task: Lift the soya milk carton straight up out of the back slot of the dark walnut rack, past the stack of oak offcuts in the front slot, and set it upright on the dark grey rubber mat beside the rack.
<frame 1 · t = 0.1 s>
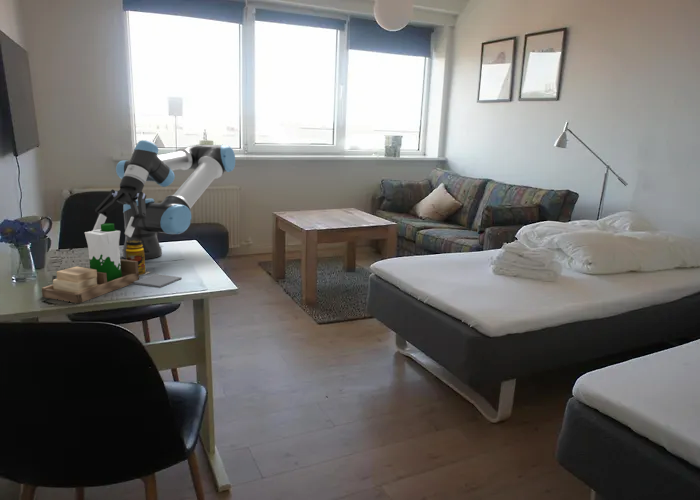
hand: (111, 233, 175), 15 cm above the table, tool tilted 35°, fingers open, 13 cm apart
rack: (93, 288, 166), on the table
condiment: (135, 273, 184), on the table
mat: (157, 281, 175), on the table
soya milk: (107, 284, 171), resting in rack
offcut stack: (77, 294, 160), resting in rack
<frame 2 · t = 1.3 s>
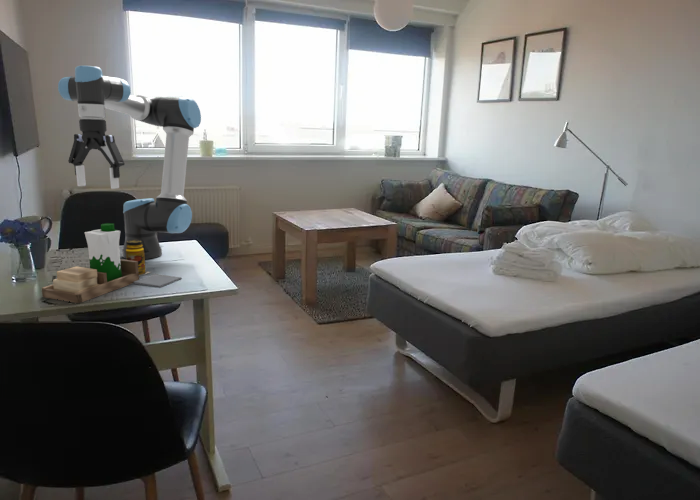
hand: (98, 187, 163), 32 cm above the table, tool pointing down, fingers open, 13 cm apart
nothing on the table moved.
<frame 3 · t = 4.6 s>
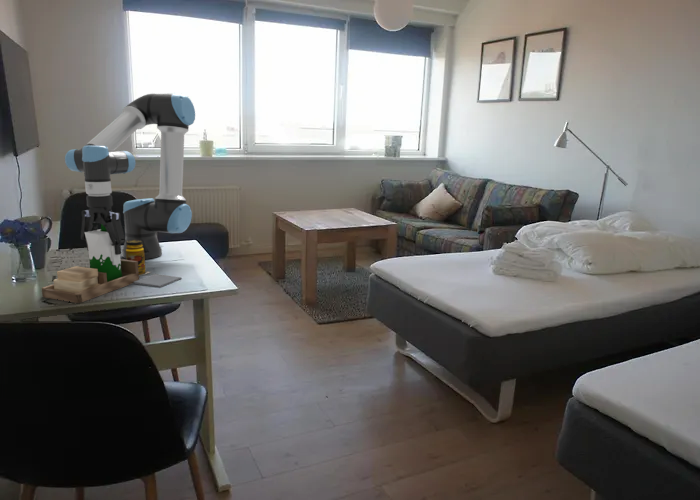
hand: (105, 262, 169), 7 cm above the table, tool pointing down, fingers closed on soya milk, 9 cm apart
soya milk: (107, 284, 171), resting in rack, touching gripper
everything else where it was.
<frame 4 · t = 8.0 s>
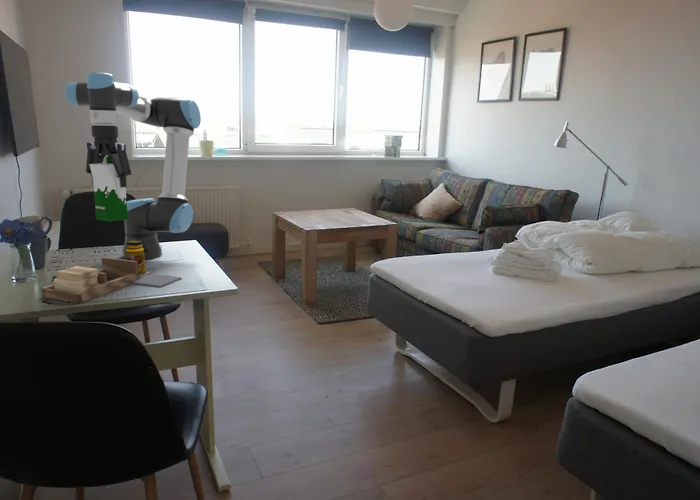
hand: (110, 196, 165), 29 cm above the table, tool pointing down, fingers closed on soya milk, 9 cm apart
soya milk: (112, 219, 167), point 22 cm above the table, touching gripper
everything else where it was.
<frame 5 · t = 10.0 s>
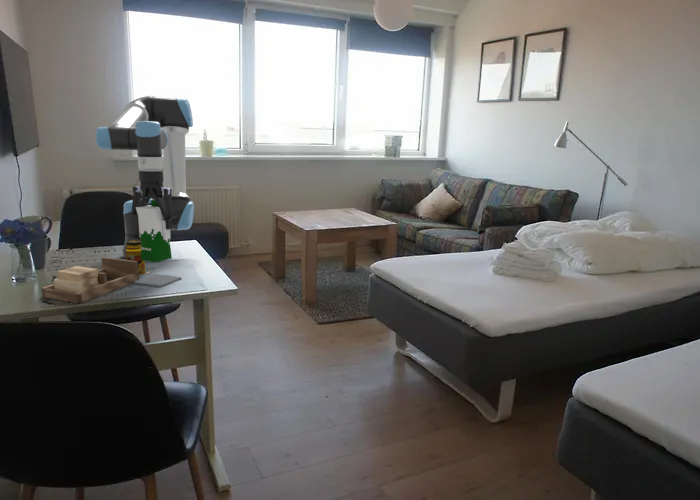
hand: (155, 237, 172), 15 cm above the table, tool pointing down, fingers closed on soya milk, 9 cm apart
soya milk: (156, 259, 173), point 8 cm above the table, touching gripper
everything else where it was.
when the fingers open (9 cm above the table, at t = 11.8 s): soya milk stays where it is, resting on mat.
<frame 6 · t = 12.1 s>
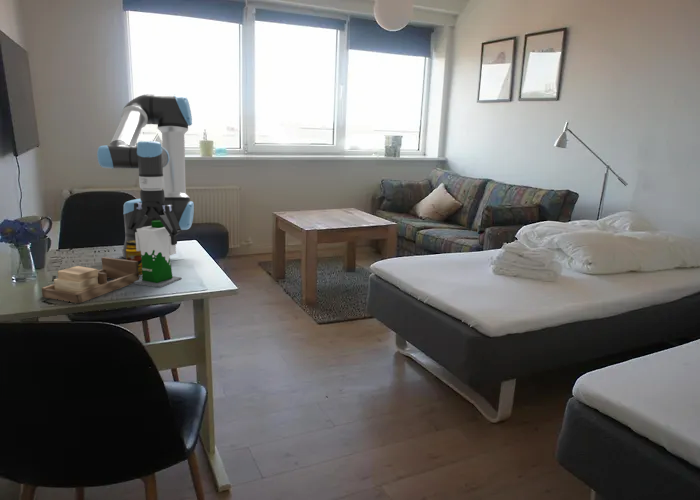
hand: (156, 252, 173), 10 cm above the table, tool pointing down, fingers open, 13 cm apart
soya milk: (157, 279, 175), resting on mat
everything else where it was.
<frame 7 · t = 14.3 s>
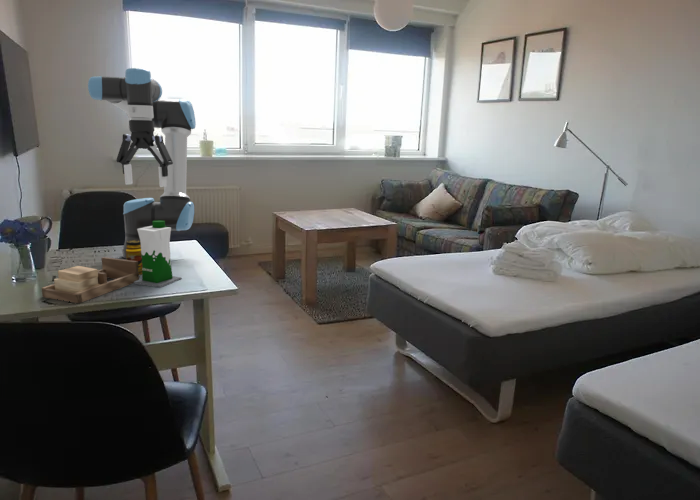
hand: (146, 185, 169), 33 cm above the table, tool pointing down, fingers open, 13 cm apart
nothing on the table moved.
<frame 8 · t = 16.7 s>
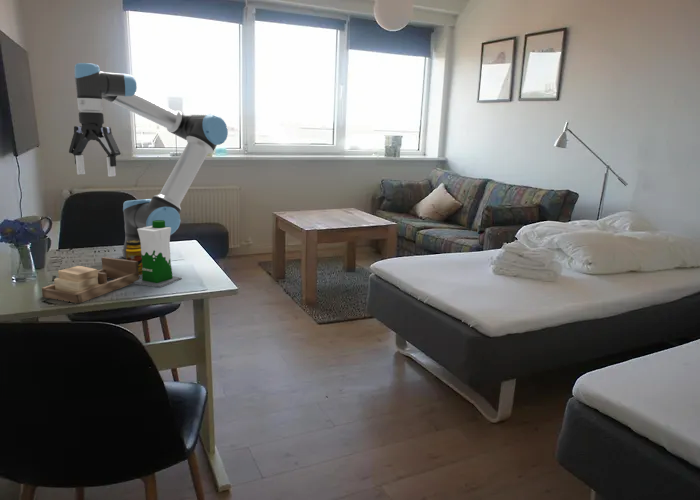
hand: (96, 175, 177), 35 cm above the table, tool pointing down, fingers open, 13 cm apart
nothing on the table moved.
at the end: soya milk inside the target area (0.2 cm from its centre), resting on mat; soya milk tilted 0°; the gripper is holding nothing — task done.
